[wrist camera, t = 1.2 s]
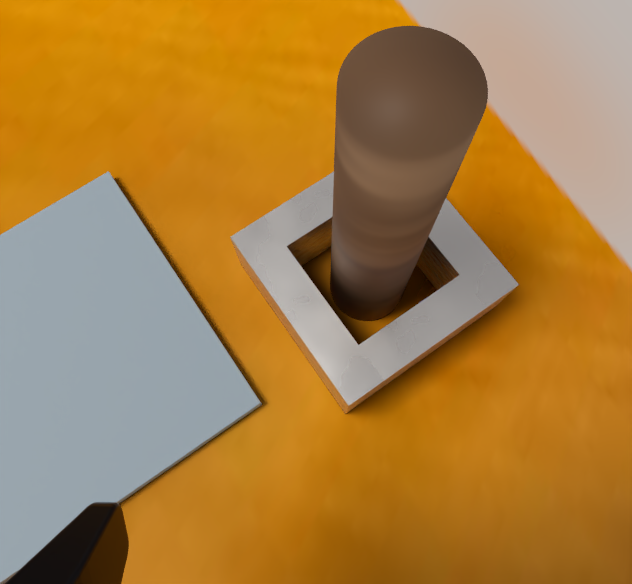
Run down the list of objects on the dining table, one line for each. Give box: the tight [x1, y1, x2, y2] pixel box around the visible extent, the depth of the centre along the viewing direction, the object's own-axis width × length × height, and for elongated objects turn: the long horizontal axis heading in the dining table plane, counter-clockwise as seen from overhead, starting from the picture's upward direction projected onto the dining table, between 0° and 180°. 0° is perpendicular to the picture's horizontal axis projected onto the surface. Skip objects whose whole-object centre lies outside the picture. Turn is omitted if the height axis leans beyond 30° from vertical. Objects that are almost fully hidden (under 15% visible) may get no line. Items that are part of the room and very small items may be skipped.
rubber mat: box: [0, 172, 262, 584], centre depth 23 cm, size 12×12×1 cm
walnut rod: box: [330, 26, 488, 321], centre depth 18 cm, size 3×3×13 cm
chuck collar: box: [230, 172, 519, 414], centre depth 23 cm, size 8×8×3 cm
